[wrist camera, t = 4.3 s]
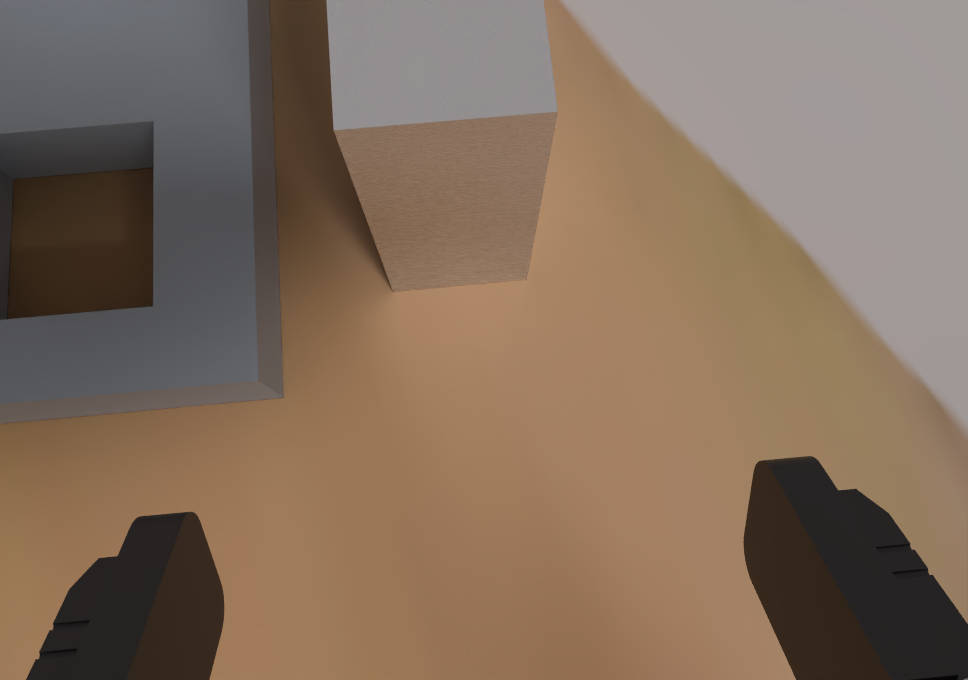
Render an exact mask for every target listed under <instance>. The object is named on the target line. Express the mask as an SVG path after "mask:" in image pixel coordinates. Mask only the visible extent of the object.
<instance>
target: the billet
mask: <svg viewBox="0 0 968 680" xmlns="http://www.w3.org/2000/svg"><path fill="white" fill-rule="evenodd" d="M326 1H327V19H328V37H329V55H330V74H331V92H332V110H333V128H334V133H335V135H336V138H337V141H338V144H339V146H340V149H341V152H342V154H343V157H344V160H345V163H346V165H347V168H348V171H349V173H350V176H351V179H352V182H353V184H354V187H355V190H356V193H357V195H358V198H359V201H360V203H361V206H362V209H363V212H364V214H365V217H366V220H367V222H368V225H369V228H370V231H371V233H372V236H373V239H374V241H375V244H376V247H377V250H378V252H379V255H380V258H381V260H382V263H383V266H384V269H385V271H386V274H387V277H388V279H389V282H390V285H391V288H392V290H393V292H395V291H406V290H418V289H429V288H440V287H451V286H463V285H474V284H485V283H496V282H507V281H519V280H527V276H528V271H529V265H530V260H531V254H532V249H533V243H534V238H535V232H536V227H537V222H538V216H539V211H540V205H541V200H542V194H543V189H544V183H545V178H546V173H547V167H548V162H549V156H550V151H551V145H552V140H553V134H554V129H555V124H556V118H557V113H558V110H557V102H556V95H555V87H554V79H553V71H552V63H551V56H550V48H549V40H548V32H547V24H546V17H545V9H544V1H543V0H326Z"/></svg>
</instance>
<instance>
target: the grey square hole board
mask: <svg viewBox="0 0 968 680" xmlns="http://www.w3.org/2000/svg"><path fill="white" fill-rule="evenodd" d="M152 167H153V306H150V307H139V308H128V309H117V310H106V311H94V312H83V313H72V314H61V315H49V316H38V317H27V318H16V319H7V307H8V286H9V265H10V244H11V223H12V202H13V181H14V179H22V178H34V177H46V176H57V175H69V174H81V173H93V172H105V171H117V170H128V169H140V168H152ZM274 398H284V396H283V368H282V340H281V312H280V284H279V256H278V228H277V201H276V173H275V145H274V117H273V89H272V61H271V33H270V6H269V0H0V424H3V423H14V422H25V421H36V420H47V419H58V418H68V417H79V416H90V415H101V414H112V413H123V412H133V411H144V410H155V409H166V408H177V407H188V406H198V405H209V404H220V403H231V402H242V401H253V400H263V399H274Z"/></svg>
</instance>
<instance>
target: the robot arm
mask: <svg viewBox="0 0 968 680" xmlns="http://www.w3.org/2000/svg"><path fill="white" fill-rule="evenodd" d="M744 554H745V561H746V565H747V569H748V573H749V576H750V579H751V581H752V584H753V586H754V588H755V590H756V592H757V594H758V597H759V599H760V601H761V603H762V605H763V608H764V610H765V612H766V614H767V616H768V619H769V621H770V623H771V625H772V627H773V630H774V632H775V634H776V636H777V638H778V641H779V643H780V645H781V647H782V649H783V652H784V654H785V656H786V658H787V660H788V663H789V665H790V667H791V669H792V671H793V674H794V676H795V678H796V680H968V624H967V623H966V621H965V620H964V618H963V617H962V616H961V614H960V613H959V611H958V610H957V609H956V607H955V606H954V604H953V603H952V602H951V600H950V599H949V597H948V596H947V595H946V593H945V592H944V590H943V589H942V587H941V586H940V585H939V583H938V582H937V580H936V579H935V578H934V576H933V575H929V573H928V568H927V566H926V565H925V564H924V562H923V561H922V559H921V558H920V557H919V555H918V554H917V552H916V551H915V550H912V549H911V547H910V543H909V541H908V540H907V538H906V537H905V535H904V534H903V533H902V531H901V530H900V528H899V527H898V526H897V524H896V523H895V521H894V520H893V519H892V517H891V516H890V514H889V513H888V512H886V511H885V510H883V509H882V508H881V507H879V506H878V505H877V504H875V503H874V502H873V501H871V500H870V499H869V498H867V497H866V496H865V495H863V494H862V493H861V492H859V491H858V490H857V489H850V490H839V491H838V490H837V488H836V487H835V485H834V484H833V482H832V480H831V479H830V477H829V476H828V474H827V473H826V471H825V470H824V468H823V467H822V465H821V464H820V463H819V461H818V460H817V459H816V458H814V457H812V456H806V457H796V458H785V459H774V460H763V461H759V462H758V463H757V464H756V466H755V469H754V473H753V480H752V486H751V493H750V500H749V506H748V513H747V519H746V526H745V532H744ZM223 620H224V595H223V589H222V585H221V581H220V578H219V575H218V573H217V570H216V567H215V564H214V561H213V558H212V555H211V552H210V549H209V546H208V543H207V540H206V537H205V534H204V531H203V529H202V526H201V523H200V520H199V518H198V516H197V515H196V514H195V513H194V512H184V513H173V514H162V515H151V516H141V517H138V518H136V519H135V520H134V522H133V523H132V525H131V527H130V529H129V531H128V534H127V536H126V538H125V541H124V543H123V545H122V547H121V550H120V552H119V554H118V556H117V557H106V558H99V559H98V560H97V561H96V562H95V563H94V564H93V565H92V566H91V567H90V568H89V569H88V570H87V571H86V572H85V573H84V574H83V575H82V576H81V578H80V579H79V580H78V581H77V582H76V583H75V584H74V585H73V586H72V587H71V588H70V589H69V591H68V593H67V595H66V597H65V600H64V602H63V604H62V606H61V608H60V610H59V612H58V614H57V616H56V618H55V620H54V623H53V630H50V631H49V633H48V635H47V637H46V639H45V641H44V643H43V645H42V648H41V650H40V652H39V653H40V657H39V659H36V660H35V662H34V664H33V666H32V668H31V671H30V673H29V675H28V677H27V679H26V680H209V679H210V675H211V671H212V667H213V663H214V659H215V655H216V651H217V647H218V644H219V640H220V636H221V632H222V627H223Z"/></svg>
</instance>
